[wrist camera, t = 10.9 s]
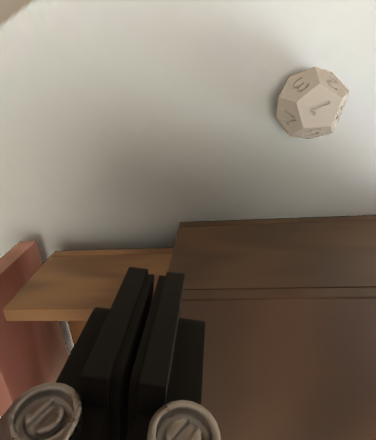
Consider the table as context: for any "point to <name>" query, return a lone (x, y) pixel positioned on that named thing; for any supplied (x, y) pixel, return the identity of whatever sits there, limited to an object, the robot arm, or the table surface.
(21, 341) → the drawer
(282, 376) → the cabinet
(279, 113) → the game die
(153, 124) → the table surface
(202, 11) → the table surface
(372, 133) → the table surface
